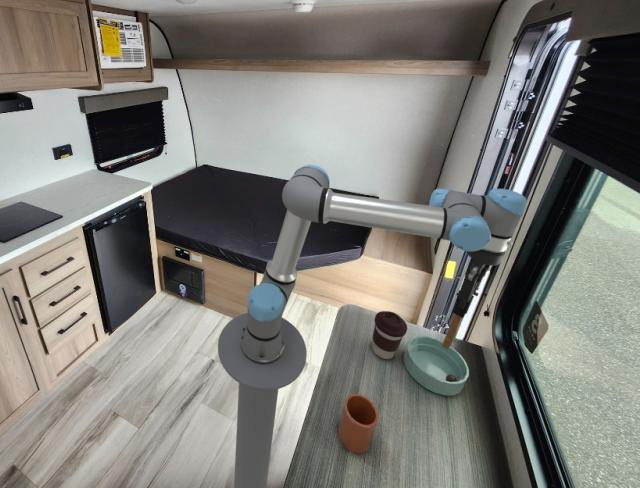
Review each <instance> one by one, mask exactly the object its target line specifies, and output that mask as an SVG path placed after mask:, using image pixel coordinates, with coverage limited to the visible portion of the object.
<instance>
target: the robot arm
mask: <svg viewBox="0 0 640 488" xmlns="http://www.w3.org/2000/svg"><path fill="white" fill-rule="evenodd" d="M330 181H331V180H330V177H329V175H328V173H327V171H326V170H324V168H322V167H320V166H319V165H316V164H305V165H303V166H301V167H299V168H297V169H296V170H295V172H294V173H293V175H292V176H291V177H290V178H289V180H288V181H287V182H286V183H285V185H284V187H283V189H282V193H281V199H282V203H283V205H284V207H285V208H286V213H285V216H284V219H283V222H282V226H281V229H280V233H279V236H278V239H277V243H276V245H275V250H274V253H273V255H272V256H273V257H272V259H271V260H269V261H268V262H267V263H266V266H265V269H264V273H263V276H262V279H261V281H260V283H259V284H256V285H255V286H254V287H252V288H251V289H250V292H249V294H248V298H247V312H246V313H247V327H246V328H243V331H244V332H243V334H242V337H241V349H242V352H243V353H244V355H245V356H246V357H247V358H248V359H249V360H251V361H252V362H254V363H258V364H270V363H273V362H275V361H277V360H278V359H279V358H280V357H281V355H282V353H283V349H284V342H283V338H282V335H281V331H280V327H281V319H282V318H283V315H284V312H285V310H286V307H287V305H288V302H289V300H290V297H291V294H292V293H293V291H294V288H295V286H296V281H297V278H298V270H297V268H296V267H297V265H298V261H299V258H300V256H301V253H302V249H303V247H304V244H305V241H306V238H307V235H308V232H309V229H310V227H311V223H312V222H313V223H318V224H327V223H328V222H335V223H341V224H348V225H353V226H361V227H366V228H371V229H372V228H373V229H379V230H385V231H390V232H397V233H403V234H409V235H416V236H421V237H428V238H433V239H439V240H444V241H448V242H449V241H450V242H451V243H452V244H453V246H454V247H456V248H457V249H459V250H461V251H463V252H464V251H465V252H466V254H467V255H468V257H469V258H470V259H472V260H471V261H470V262H469V263H468V266H467V271H466V272H465V273H464V278H463V281H462V284H461V286H460V289H459V292H457V293H456V294H455V295H456V296H457V300H456V303H455V306H454V307H453V310H452V314H454V315H455V314H456V315H458V316H460V317H462V319H464V318H465V315H467V314H468V312H469V310H470V307H471V304H472V302H473V300H474V298H475V297H478V296H479V292H477V291H478V290H479V289H480V286H481V284H482V282H483V279H484V277H485V276H486V274H487V273H488V271H489V269H490V268H491V266H498V265H500V264H501V263H502V260H503V259H504V256H505V252H506V251H507V249H508V246H512V245H513V244H514V243H513V242H512V241H511V239H512V238H513V236H514V233H515V231H516V229H517V227H518V224H519V222H520V220H521V219H522V217H523V216H524V212H525V209H526V206H527V203H528V202H527V201H528V199H527V198H526V197H525V196H524V195H523V194H521V193H519V192H517V191H515V190H511V189H506V188H492V189H491V190H490V191H489V193H487V195H484V194H483V195H481V194H477V193H469V192H464V191H458V190H452V189H445V188H436V189H435V190H433V192H432V193H431V196H430V198H429V203H428V205H426V204H420V203H412V202H404V201H397V200H390V199H383V198H376V197H367V196H361V195H360V196H359V195H353V194H347V193H339V192H334V191H333V190H332V188H330V186H331V185H330ZM473 292H474V293H473ZM472 294H473V295H472Z"/></svg>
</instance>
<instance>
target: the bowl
mask: <svg viewBox="0 0 640 488" xmlns="http://www.w3.org/2000/svg"><path fill="white" fill-rule="evenodd" d="M443 342H444V340H443V341H442V340H440V339H438V338H435V337H432V336H427V335H416V336H414V337H411V338H410V339H409V341H407V345H406V347H405V350H404V354H403V364H404V367H405V368H406V370H407V373H409V375H410V376H411V377H412V378H413V379H414V380H415V381H416V382H417V383H418V384H419V385H421V386H422V387H423V388H425V389H427V390H429V391H431V392H433V393H435V394H438V395H442V396H446V397H447V396H456V395H458V394H460V393H461V392H462V391H463V389H464V387H465V385H466V383H467V380H468V379H469V377H470V369H469V366H468V363H467V362H466V360H465V359H464V358H463V356H462V355H461V354H460V353H459V352H458V351H457V350H456V349H455V348H454V347H452V345H451V346H450V348H449V349H448V350H447V349H446V348H444V347H443V346H442V344H443ZM449 374H451V375H453V376H455V377H456V379H457V382H448V381H446V376H447V375H449Z"/></svg>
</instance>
